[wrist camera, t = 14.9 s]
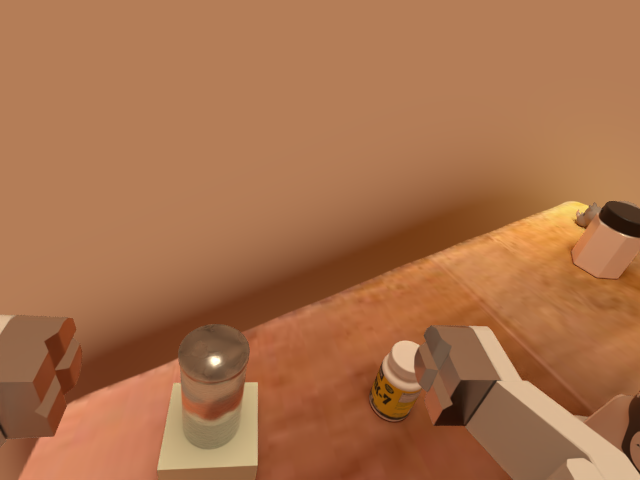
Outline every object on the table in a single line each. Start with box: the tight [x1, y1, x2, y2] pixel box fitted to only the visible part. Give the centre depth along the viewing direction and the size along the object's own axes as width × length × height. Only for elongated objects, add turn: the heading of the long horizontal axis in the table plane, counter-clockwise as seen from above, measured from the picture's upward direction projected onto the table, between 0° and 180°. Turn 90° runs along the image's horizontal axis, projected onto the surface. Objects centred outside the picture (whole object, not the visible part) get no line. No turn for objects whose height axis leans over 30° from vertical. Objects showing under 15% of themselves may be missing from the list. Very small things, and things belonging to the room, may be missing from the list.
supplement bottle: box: [369, 341, 422, 421], centre depth 43 cm, size 5×5×8 cm
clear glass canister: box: [178, 324, 250, 450], centre depth 33 cm, size 5×5×10 cm
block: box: [157, 382, 258, 480], centre depth 38 cm, size 8×8×4 cm
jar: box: [571, 201, 640, 279], centre depth 74 cm, size 9×8×12 cm
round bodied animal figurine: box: [576, 201, 640, 227], centre depth 87 cm, size 7×12×8 cm, turn 40°
